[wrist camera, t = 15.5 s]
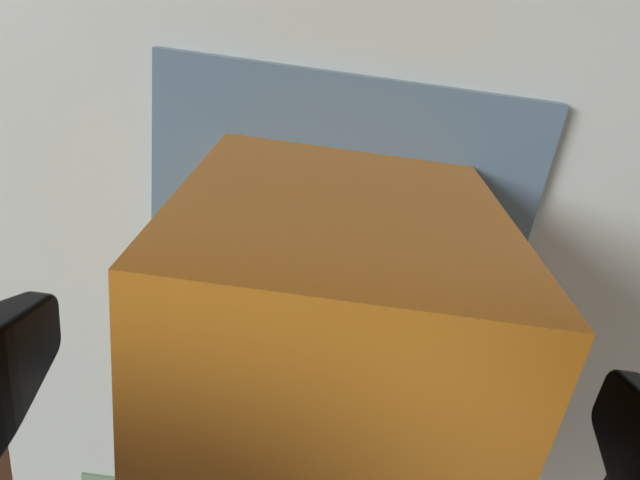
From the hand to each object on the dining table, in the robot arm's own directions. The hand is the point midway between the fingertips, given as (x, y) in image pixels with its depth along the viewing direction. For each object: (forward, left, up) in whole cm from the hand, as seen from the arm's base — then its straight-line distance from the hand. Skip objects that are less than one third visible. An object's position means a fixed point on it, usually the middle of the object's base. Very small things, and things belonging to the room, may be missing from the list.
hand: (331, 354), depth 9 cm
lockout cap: (0, 0, -3) cm, 3 cm away
